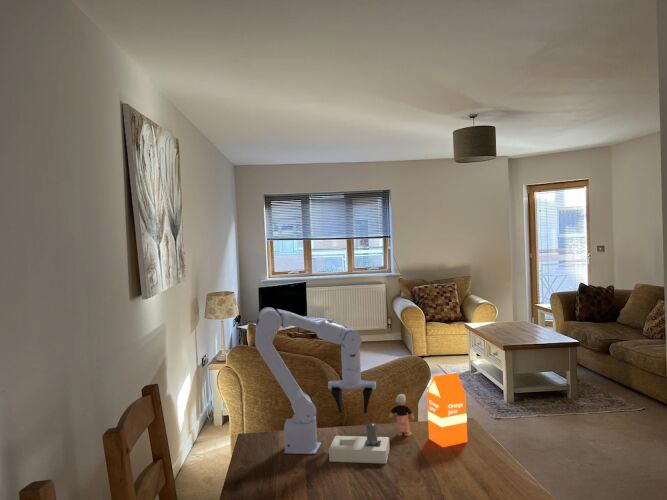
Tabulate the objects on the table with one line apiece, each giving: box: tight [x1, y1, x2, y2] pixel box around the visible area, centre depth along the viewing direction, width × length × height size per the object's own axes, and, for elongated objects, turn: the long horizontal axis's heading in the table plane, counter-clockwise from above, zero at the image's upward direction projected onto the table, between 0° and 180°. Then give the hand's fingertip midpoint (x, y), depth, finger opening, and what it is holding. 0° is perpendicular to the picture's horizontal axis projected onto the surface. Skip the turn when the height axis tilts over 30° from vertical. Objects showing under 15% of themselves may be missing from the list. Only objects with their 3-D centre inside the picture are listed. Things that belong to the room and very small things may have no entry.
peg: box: [365, 422, 378, 447], centre depth 150 cm, size 3×3×9 cm
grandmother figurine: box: [389, 393, 415, 437], centre depth 165 cm, size 8×4×13 cm, turn 84°
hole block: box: [328, 435, 390, 464], centre depth 151 cm, size 16×10×4 cm, turn 79°
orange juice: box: [426, 372, 468, 448], centre depth 159 cm, size 8×9×20 cm
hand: (353, 412), depth 160 cm, fingers open, 7 cm apart
